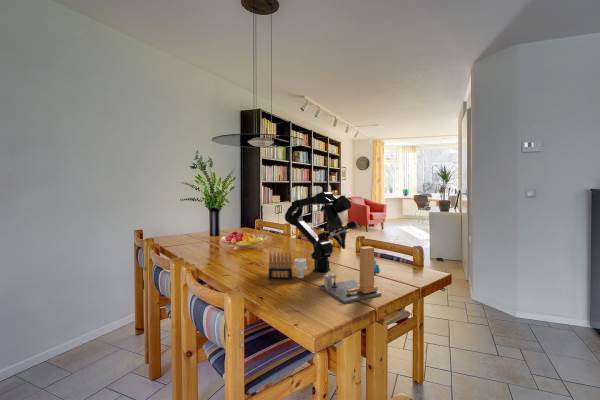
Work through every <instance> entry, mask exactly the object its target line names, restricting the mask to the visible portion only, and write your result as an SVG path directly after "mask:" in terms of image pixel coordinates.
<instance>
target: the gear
mask: <svg viewBox="0 0 600 400" xmlns="http://www.w3.org/2000/svg"><path fill="white" fill-rule="evenodd" d="M380 270H381V269H380V266H379V265H378V264H377V260H374V273H380Z"/></svg>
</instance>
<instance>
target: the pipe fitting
mask: <svg viewBox="0 0 600 400" xmlns="http://www.w3.org/2000/svg"><path fill="white" fill-rule="evenodd" d="M308 268H309V266H308V265H307V259H306V258H303V257H301V258H295V259H294V265H293V266H292V271H293V270H294V271H296V278H297V279H304V278H305V271H307V270H308Z"/></svg>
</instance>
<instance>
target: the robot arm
mask: <svg viewBox="0 0 600 400" xmlns="http://www.w3.org/2000/svg"><path fill="white" fill-rule="evenodd" d="M312 205H321V208H320V210H319V211H320V212H324V215H325V217H326V221H327V224H326V228H327V231H323V232H320V233H318V234H317V233H316V232H315V231H314V230H313V229H312V228H311V227H310V226H309V225H308V224H307V223H306V222H305V220H304V219H303V215H302V214H303V212H304V211H303V209H304V207H306V206H312ZM351 208H352V203H351V201H350V200H349V198H347V197H346V195H343V194H342V195H340V196H339V197H336V196H335V195H334V194H333V192H332V191H321V192H319V193H316V194H315V195H313V196H310V197H306V198H301V199H295V200H294V201H293V202H292V204H291V205H290V206H289V207H288V208H287V210H286V211H285V214H284V220H285V221H286V223H288V224H289V225H291V226H293V227H295V228H296V229H298V231H300V233H301V234H302V235H303V236H304V237H305V238H306V239H307V241H308V242H310V244H311V245H312V248H313V252H311V253H310V254H311V258H312V260H314V264H313V265H314V268H313V269H312V271H314V272H319V273H326V272H328V271H331V268H330V261H329V258H330V257H331V255H332V253H333V251H334V248H333V245H332V242H330V241H329V238H330V239H334V240H335V241H336V242H337V243H338V244H339V245H340V247H341V248H342V249H343V250H345V249H346V237H347V234H348V233H349V232H348V231H347V230H349V229H350V230H354V229H356V228H359V224H358V222H357V221H355V220H353V221H350V222H347V223H346V225H343V224H344V223H343V221H342V219H341V217H340V216H339V214H342V213H343V212H346V211H348V210H349V209H351Z"/></svg>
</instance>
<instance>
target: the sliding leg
mask: <svg viewBox="0 0 600 400" xmlns="http://www.w3.org/2000/svg"><path fill="white" fill-rule="evenodd" d="M374 261H375V247H373V246H368V245H367V246H360V247H359V282H360V285H357V288H353V289H348V290H347V293H348V294H350V293H353V292H358V291H361V292H363V293H365V294H366V293H370V292H375V291H378V286H376V285H375V272H374Z"/></svg>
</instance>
